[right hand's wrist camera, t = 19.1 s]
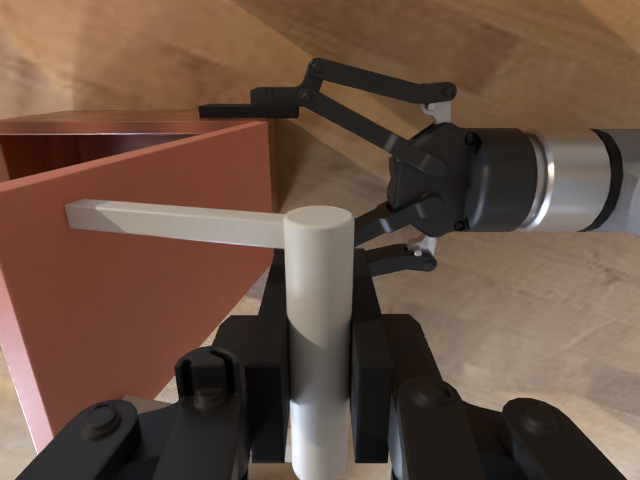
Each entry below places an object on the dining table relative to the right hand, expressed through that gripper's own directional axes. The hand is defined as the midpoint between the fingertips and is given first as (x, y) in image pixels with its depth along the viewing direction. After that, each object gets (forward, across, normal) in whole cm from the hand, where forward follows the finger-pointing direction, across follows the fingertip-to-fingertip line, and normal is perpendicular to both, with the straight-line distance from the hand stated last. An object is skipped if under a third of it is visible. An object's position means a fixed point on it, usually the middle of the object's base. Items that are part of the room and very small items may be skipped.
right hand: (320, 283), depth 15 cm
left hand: (+16, +8, 0) cm, 18 cm away
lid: (+4, +6, 0) cm, 7 cm away
